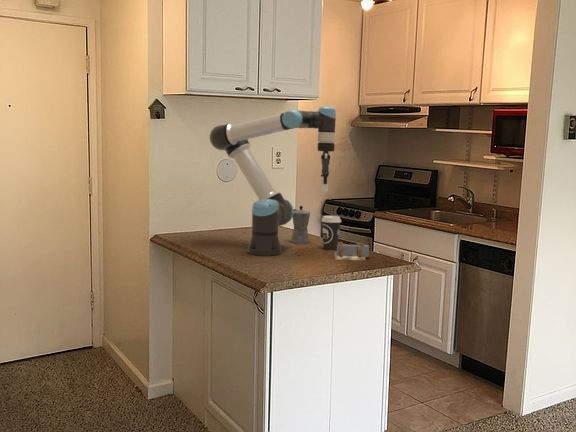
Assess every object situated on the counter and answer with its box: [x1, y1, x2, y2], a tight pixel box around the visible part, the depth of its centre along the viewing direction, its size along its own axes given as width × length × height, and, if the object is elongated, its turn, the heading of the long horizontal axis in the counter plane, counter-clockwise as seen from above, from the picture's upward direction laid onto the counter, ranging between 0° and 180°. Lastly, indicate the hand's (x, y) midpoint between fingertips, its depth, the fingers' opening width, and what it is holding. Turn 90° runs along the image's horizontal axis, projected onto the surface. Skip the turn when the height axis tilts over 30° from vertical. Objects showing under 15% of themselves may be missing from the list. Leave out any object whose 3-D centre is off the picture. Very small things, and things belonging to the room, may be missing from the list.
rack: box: [333, 241, 367, 262], centre depth 273 cm, size 13×11×6 cm
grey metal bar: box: [336, 243, 370, 258], centre depth 273 cm, size 14×5×4 cm, turn 88°
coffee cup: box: [320, 215, 342, 250], centre depth 292 cm, size 10×10×15 cm
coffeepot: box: [291, 205, 311, 245], centre depth 307 cm, size 15×9×18 cm, turn 25°
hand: (324, 190), depth 278 cm, fingers open, 13 cm apart
